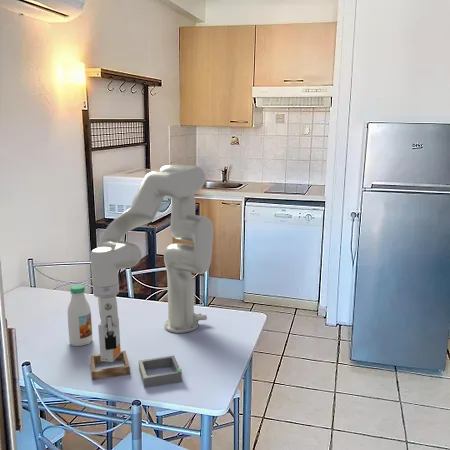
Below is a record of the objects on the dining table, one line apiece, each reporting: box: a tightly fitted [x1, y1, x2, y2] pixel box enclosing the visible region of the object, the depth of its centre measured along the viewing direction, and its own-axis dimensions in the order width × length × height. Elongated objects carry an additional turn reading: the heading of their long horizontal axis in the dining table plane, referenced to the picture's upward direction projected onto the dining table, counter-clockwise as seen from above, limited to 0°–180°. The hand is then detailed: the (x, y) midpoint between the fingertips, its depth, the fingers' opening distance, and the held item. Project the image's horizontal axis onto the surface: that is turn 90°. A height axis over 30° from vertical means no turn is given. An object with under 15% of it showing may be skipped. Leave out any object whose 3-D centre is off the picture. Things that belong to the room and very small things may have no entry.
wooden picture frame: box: [89, 350, 131, 381], centre depth 149 cm, size 11×11×2 cm
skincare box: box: [97, 317, 122, 363], centre depth 148 cm, size 6×4×12 cm
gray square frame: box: [138, 355, 183, 389], centre depth 144 cm, size 11×11×4 cm
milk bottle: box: [67, 284, 93, 347], centre depth 165 cm, size 8×8×20 cm
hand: (110, 342), depth 148 cm, fingers closed on skincare box, 7 cm apart
